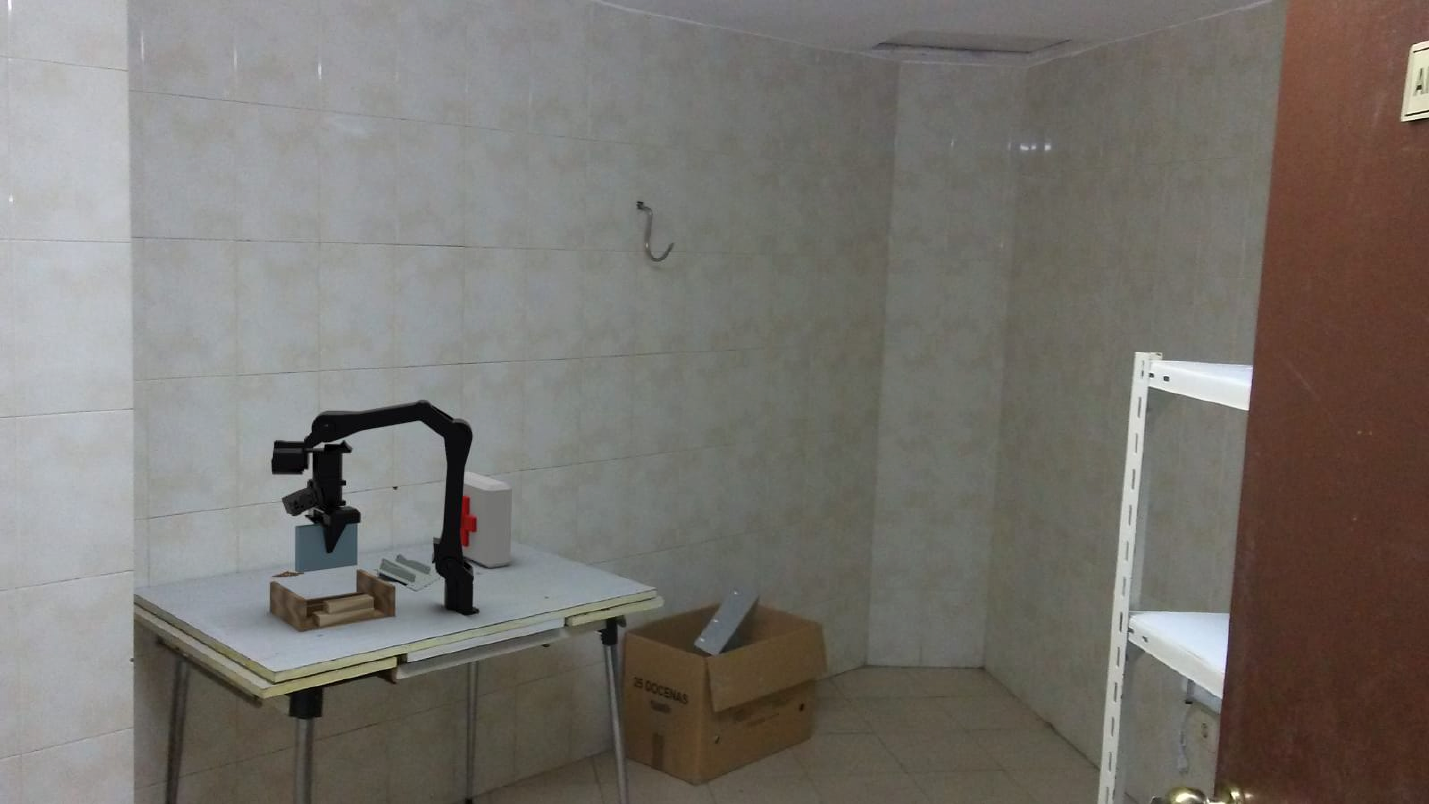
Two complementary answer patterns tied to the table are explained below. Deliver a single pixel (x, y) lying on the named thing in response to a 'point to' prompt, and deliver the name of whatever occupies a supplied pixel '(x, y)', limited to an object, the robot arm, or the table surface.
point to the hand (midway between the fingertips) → (326, 551)
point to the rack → (301, 610)
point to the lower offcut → (341, 617)
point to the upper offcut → (348, 604)
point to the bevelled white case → (486, 520)
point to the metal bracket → (408, 572)
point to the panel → (314, 552)
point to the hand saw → (287, 574)
